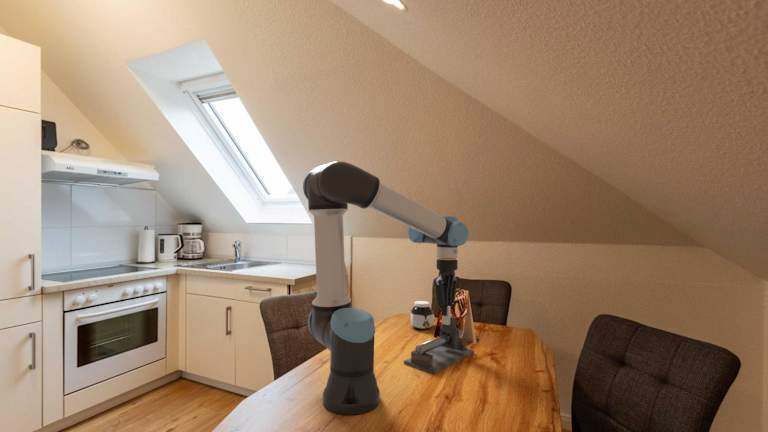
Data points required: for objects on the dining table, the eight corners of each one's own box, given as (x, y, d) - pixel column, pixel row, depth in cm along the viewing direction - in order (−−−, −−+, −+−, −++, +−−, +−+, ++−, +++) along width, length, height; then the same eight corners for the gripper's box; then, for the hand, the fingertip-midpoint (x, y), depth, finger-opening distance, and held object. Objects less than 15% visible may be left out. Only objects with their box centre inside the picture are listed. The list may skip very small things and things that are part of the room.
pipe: (423, 356, 119) (423, 346, 119) (415, 353, 121) (415, 343, 121) (462, 338, 138) (462, 330, 138) (455, 336, 140) (455, 328, 140)
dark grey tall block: (454, 349, 130) (454, 319, 131) (439, 345, 135) (439, 315, 135) (458, 347, 133) (459, 317, 133) (443, 343, 137) (444, 314, 137)
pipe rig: (433, 374, 116) (433, 360, 116) (403, 363, 124) (404, 350, 124) (473, 353, 135) (473, 340, 135) (445, 345, 143) (446, 333, 143)
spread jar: (411, 330, 161) (412, 304, 161) (407, 323, 172) (408, 298, 172) (438, 330, 162) (439, 304, 162) (433, 323, 173) (433, 298, 174)
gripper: (446, 260, 125) (444, 330, 125) (465, 258, 135) (464, 322, 134) (428, 259, 130) (427, 325, 130) (448, 256, 140) (447, 318, 139)
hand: (446, 324), depth 132 cm, fingers closed
